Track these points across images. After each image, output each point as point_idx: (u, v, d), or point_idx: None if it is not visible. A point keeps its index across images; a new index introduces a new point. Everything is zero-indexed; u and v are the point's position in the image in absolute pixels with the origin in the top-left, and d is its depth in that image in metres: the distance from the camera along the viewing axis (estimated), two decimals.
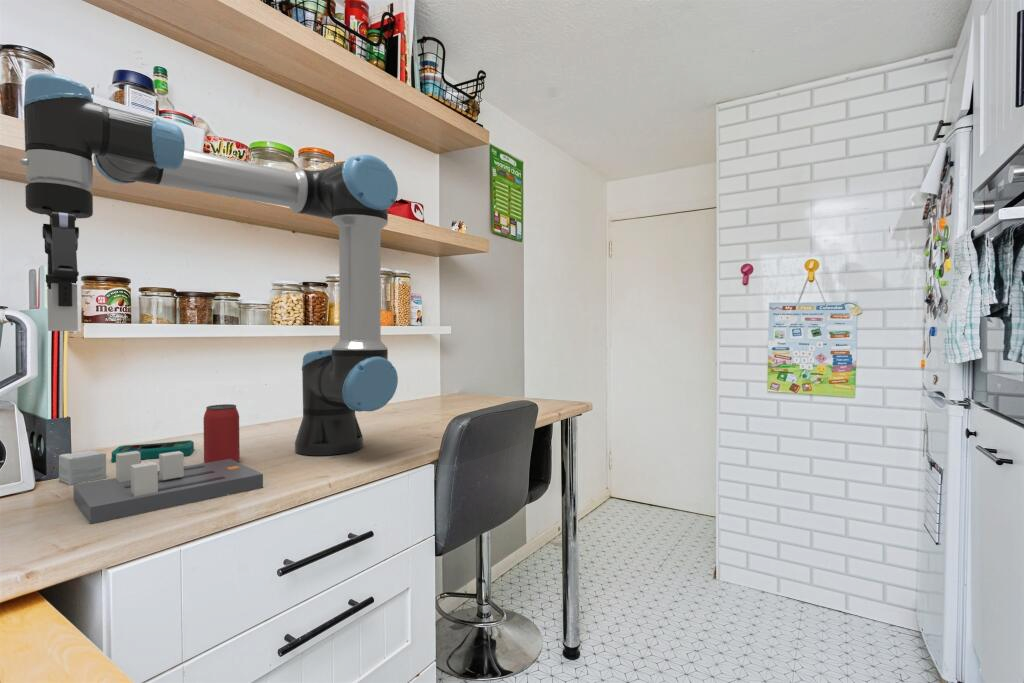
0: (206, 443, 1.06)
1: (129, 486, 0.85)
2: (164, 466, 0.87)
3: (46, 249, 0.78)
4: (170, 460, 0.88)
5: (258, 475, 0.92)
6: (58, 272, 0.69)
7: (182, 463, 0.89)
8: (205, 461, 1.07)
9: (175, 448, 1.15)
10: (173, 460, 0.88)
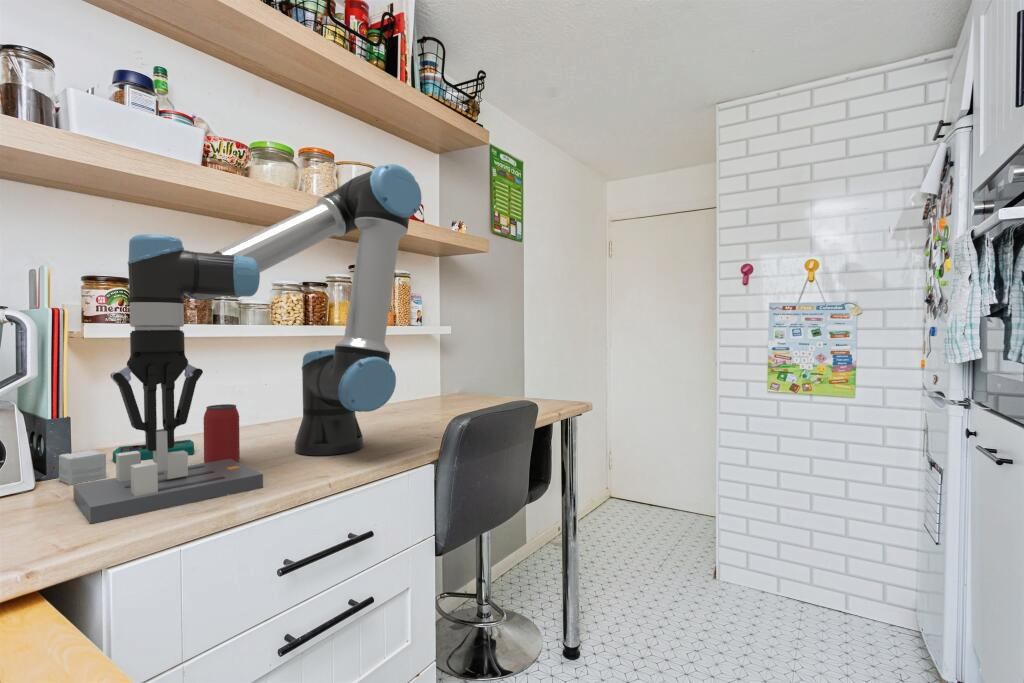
0: (206, 443, 1.07)
1: (129, 486, 0.85)
2: (169, 466, 0.88)
3: (161, 383, 0.89)
4: (175, 459, 0.88)
5: (258, 475, 0.92)
6: (133, 427, 0.86)
7: (187, 462, 0.90)
8: (205, 461, 1.07)
9: (179, 447, 1.15)
10: (177, 459, 0.89)
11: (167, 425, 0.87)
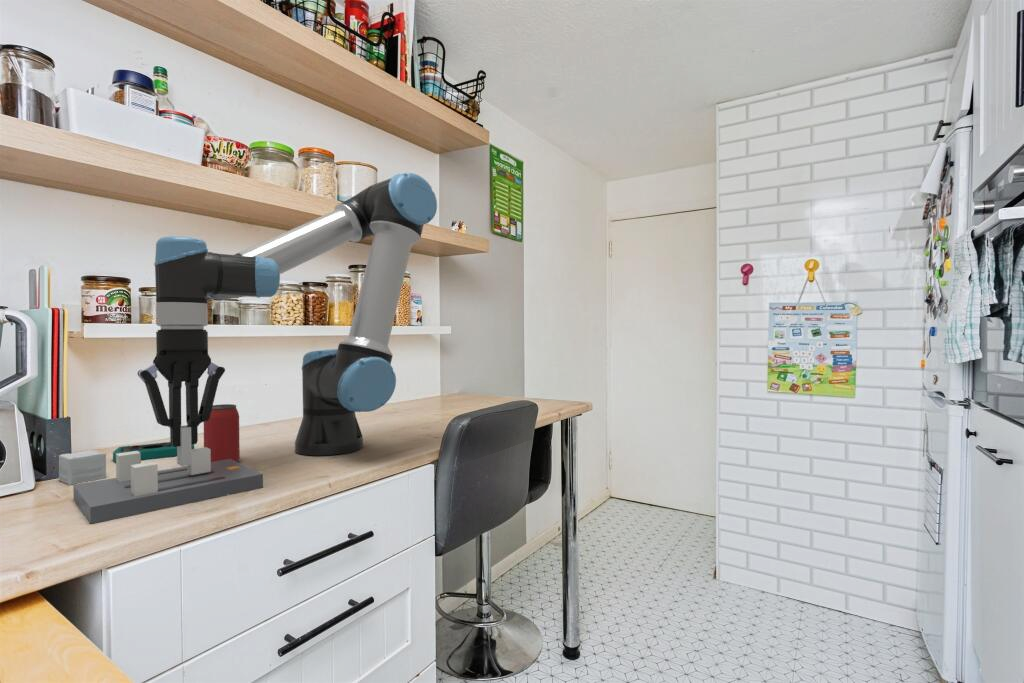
0: (206, 443, 1.06)
1: (129, 486, 0.85)
2: (193, 462, 0.90)
3: (185, 381, 0.92)
4: (198, 456, 0.91)
5: (258, 475, 0.92)
6: (159, 423, 0.88)
7: (209, 458, 0.92)
8: None
9: None
10: (200, 456, 0.91)
11: (191, 421, 0.90)
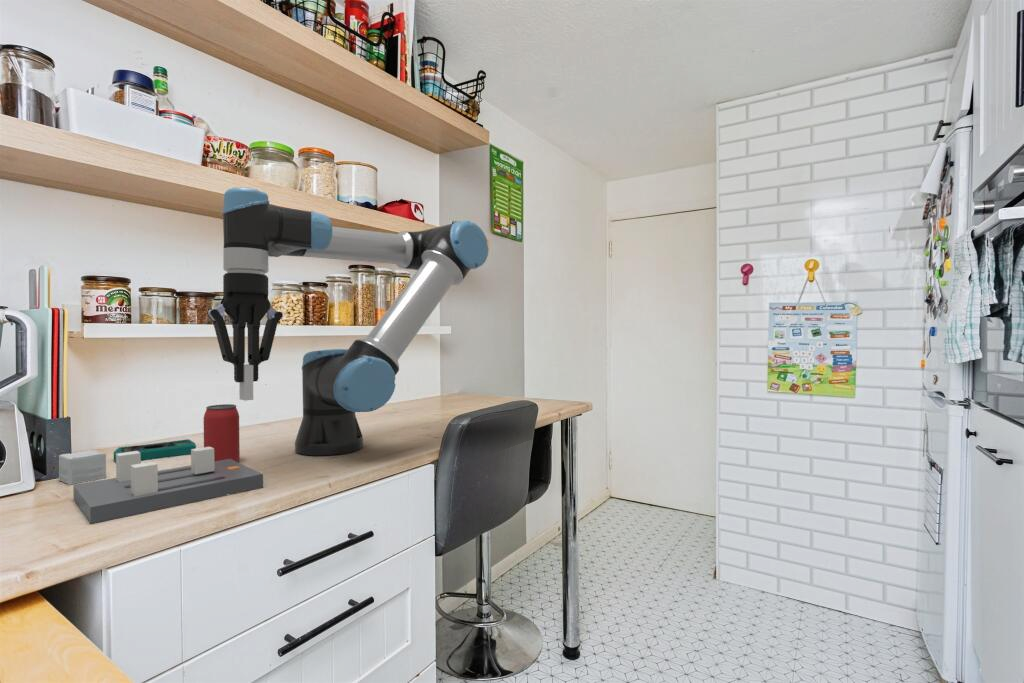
0: (206, 443, 1.06)
1: (129, 486, 0.85)
2: (197, 461, 0.91)
3: (247, 323, 0.99)
4: (202, 455, 0.91)
5: (258, 475, 0.92)
6: (224, 360, 0.96)
7: (213, 458, 0.93)
8: None
9: (182, 446, 1.16)
10: (204, 455, 0.92)
11: (253, 360, 0.97)
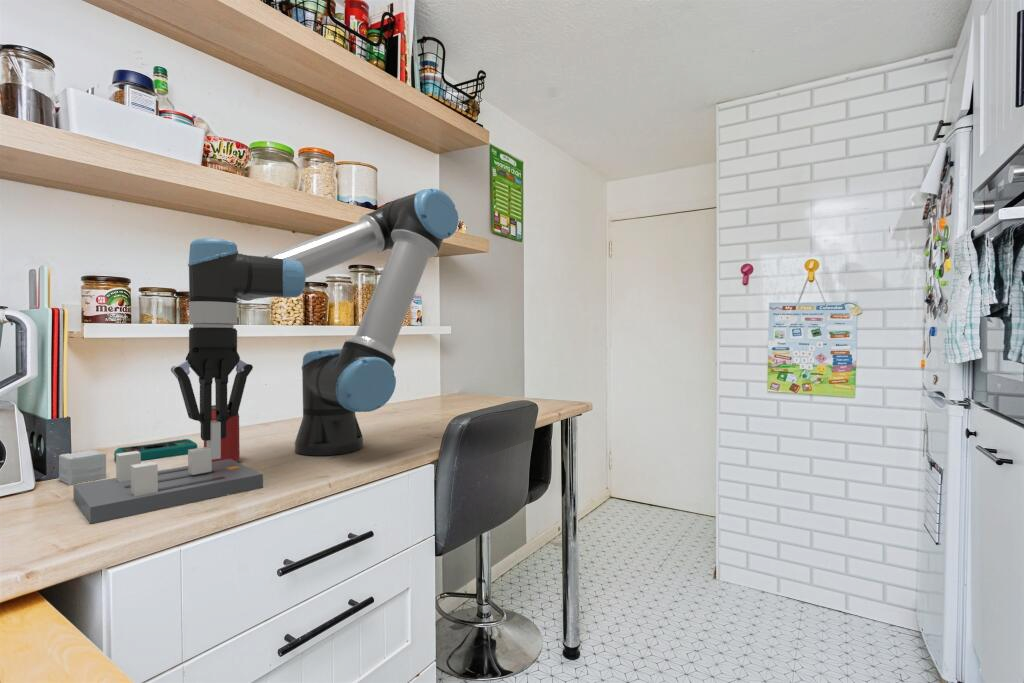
0: (206, 443, 1.06)
1: (129, 486, 0.85)
2: (194, 461, 0.90)
3: (214, 377, 0.95)
4: (199, 455, 0.91)
5: (258, 475, 0.92)
6: (190, 418, 0.92)
7: (210, 458, 0.92)
8: None
9: (184, 446, 1.17)
10: (201, 456, 0.91)
11: (220, 416, 0.93)
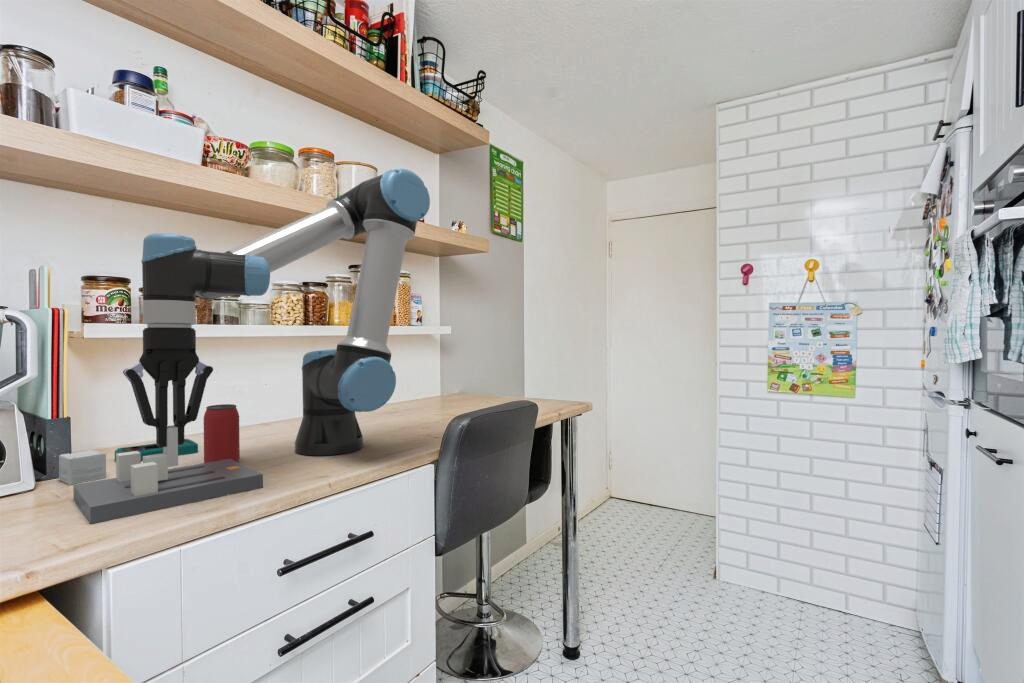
0: (206, 443, 1.06)
1: (129, 486, 0.85)
2: None
3: (172, 380, 0.90)
4: None
5: (258, 475, 0.92)
6: (145, 423, 0.87)
7: (167, 465, 0.87)
8: (205, 461, 1.07)
9: (184, 446, 1.17)
10: (156, 463, 0.86)
11: (178, 421, 0.89)
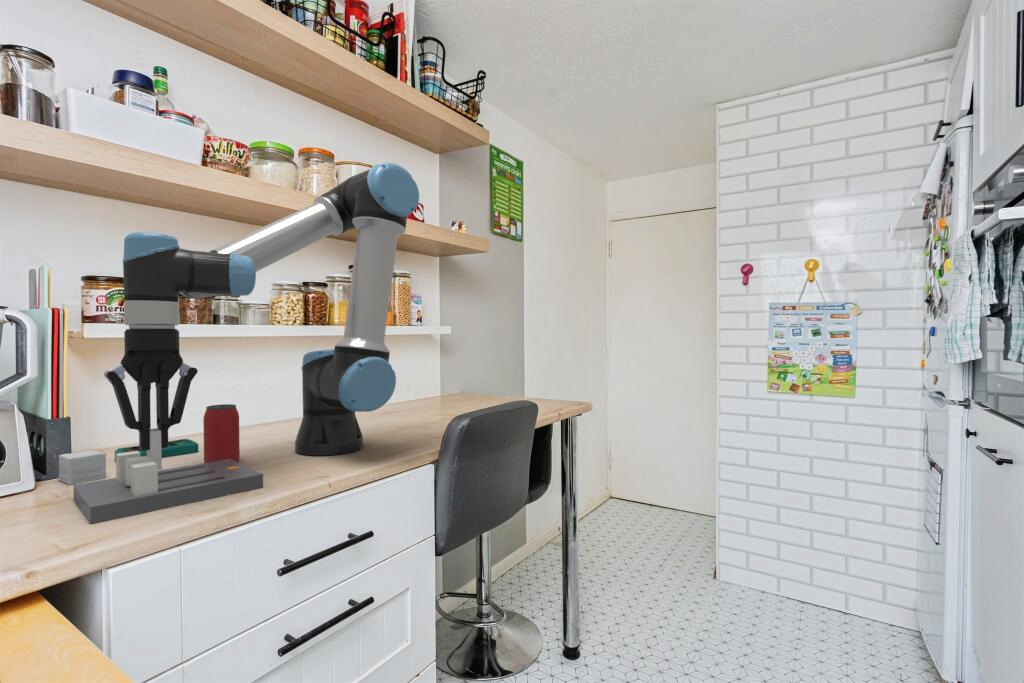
0: (206, 443, 1.06)
1: (129, 486, 0.85)
2: (130, 472, 0.84)
3: (155, 382, 0.88)
4: None
5: (258, 475, 0.92)
6: (127, 426, 0.85)
7: None
8: (205, 461, 1.07)
9: (185, 445, 1.17)
10: None
11: (161, 424, 0.87)
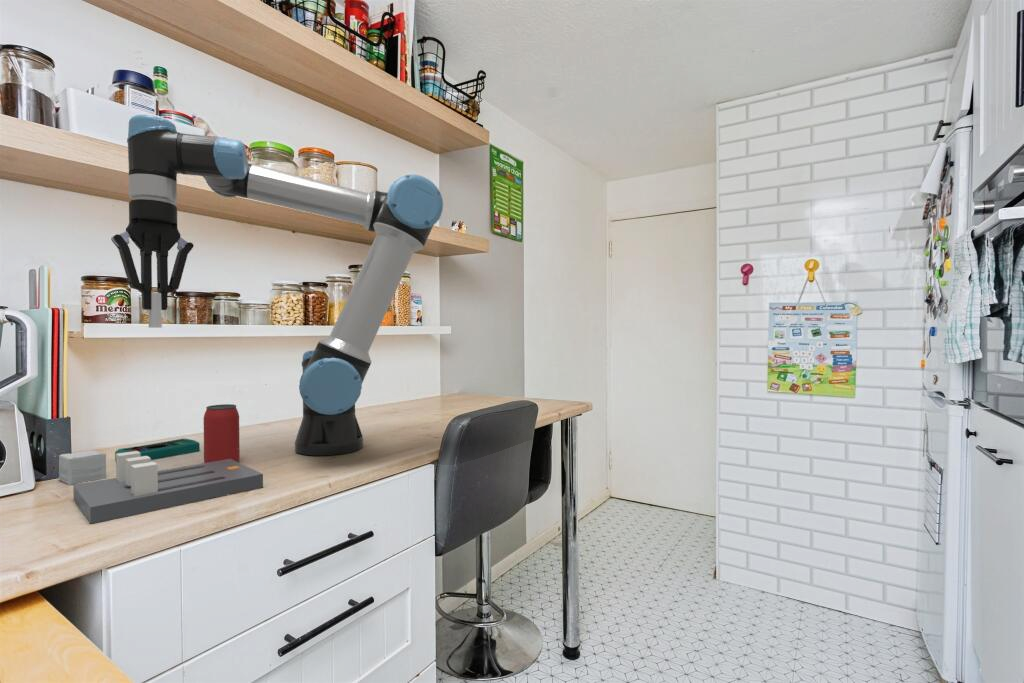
0: (206, 443, 1.07)
1: (129, 486, 0.85)
2: (130, 472, 0.84)
3: (156, 253, 1.00)
4: None
5: (258, 475, 0.92)
6: (131, 287, 0.97)
7: None
8: (205, 461, 1.07)
9: (187, 445, 1.18)
10: None
11: (161, 288, 0.98)
